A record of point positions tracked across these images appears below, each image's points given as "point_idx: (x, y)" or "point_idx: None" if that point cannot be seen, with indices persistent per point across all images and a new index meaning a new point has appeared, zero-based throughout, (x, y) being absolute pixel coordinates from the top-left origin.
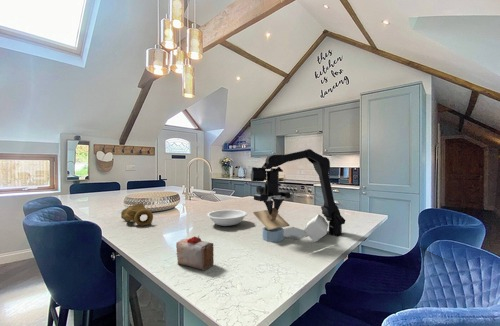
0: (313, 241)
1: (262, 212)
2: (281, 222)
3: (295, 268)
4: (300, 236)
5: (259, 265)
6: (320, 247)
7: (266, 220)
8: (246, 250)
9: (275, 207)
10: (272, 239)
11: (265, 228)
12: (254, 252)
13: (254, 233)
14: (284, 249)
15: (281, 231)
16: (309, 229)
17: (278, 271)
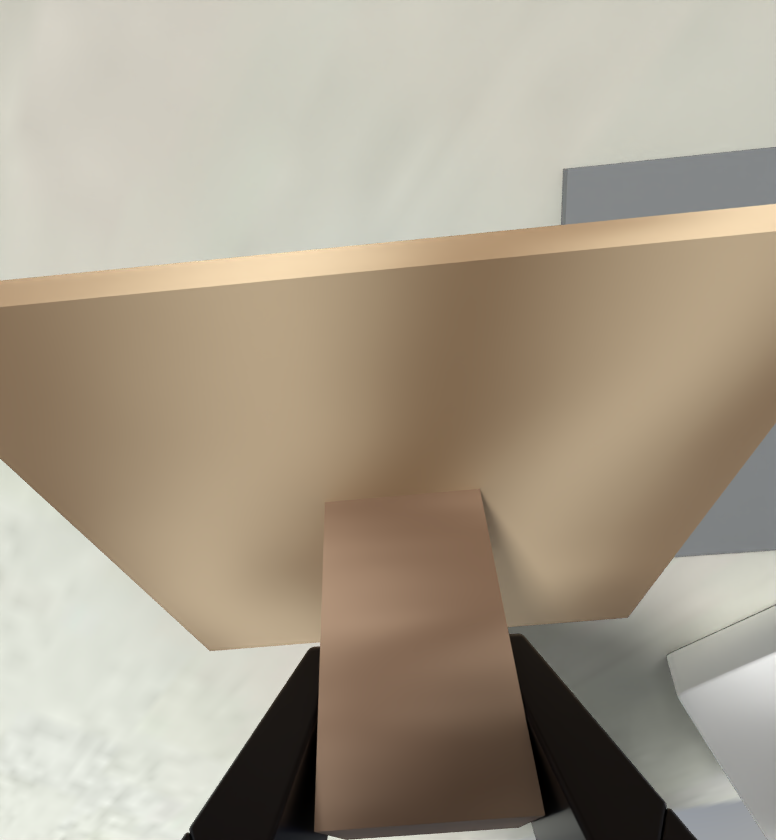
0: (667, 659)
1: (267, 364)
2: (535, 594)
3: None
4: (708, 515)
5: (34, 731)
6: (606, 726)
7: (248, 566)
8: (7, 513)
9: (558, 834)
10: None
11: None
12: (67, 577)
13: (318, 16)
14: None
15: None
16: (710, 750)
17: (116, 808)
